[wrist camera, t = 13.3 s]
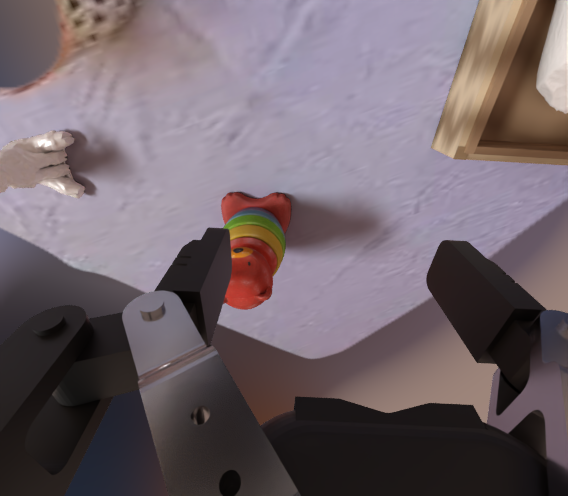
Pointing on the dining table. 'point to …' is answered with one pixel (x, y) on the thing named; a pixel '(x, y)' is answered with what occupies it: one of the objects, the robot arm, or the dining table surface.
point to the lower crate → (478, 82)
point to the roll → (555, 60)
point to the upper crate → (520, 96)
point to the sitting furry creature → (39, 164)
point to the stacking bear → (254, 245)
